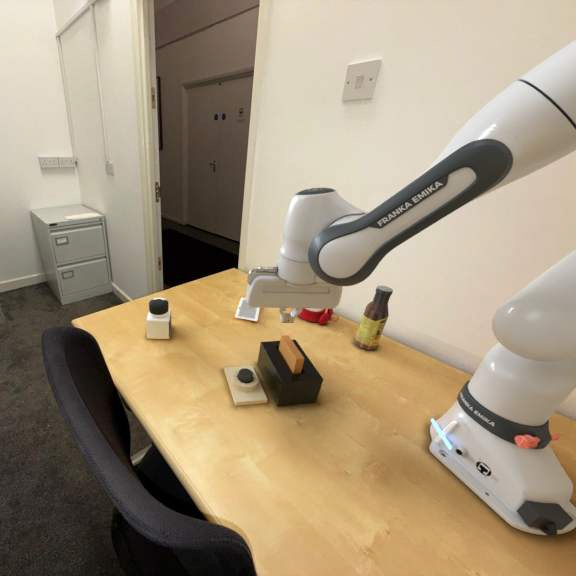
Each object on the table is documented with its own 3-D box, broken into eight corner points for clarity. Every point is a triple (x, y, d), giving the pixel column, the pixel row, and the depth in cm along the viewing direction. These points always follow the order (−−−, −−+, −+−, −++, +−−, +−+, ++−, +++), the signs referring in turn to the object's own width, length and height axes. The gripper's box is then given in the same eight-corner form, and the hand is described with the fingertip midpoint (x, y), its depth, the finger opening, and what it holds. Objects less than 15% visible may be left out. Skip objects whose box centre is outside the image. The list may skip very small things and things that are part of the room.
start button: (254, 382, 75) (255, 377, 74) (240, 384, 74) (241, 379, 74) (249, 372, 78) (250, 367, 77) (236, 373, 78) (237, 368, 77)
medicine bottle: (169, 339, 94) (169, 307, 88) (147, 339, 94) (145, 306, 88) (171, 326, 100) (171, 295, 95) (150, 325, 100) (148, 294, 95)
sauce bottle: (374, 353, 90) (396, 296, 81) (351, 345, 93) (370, 289, 84) (377, 343, 94) (399, 288, 85) (356, 335, 98) (374, 281, 89)
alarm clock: (300, 295, 114) (342, 300, 104) (300, 309, 116) (342, 316, 106) (289, 305, 107) (333, 312, 97) (289, 321, 109) (333, 329, 99)
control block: (267, 402, 73) (268, 394, 71) (235, 405, 72) (236, 397, 70) (251, 368, 83) (253, 360, 82) (224, 370, 82) (224, 362, 81)
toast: (296, 389, 74) (304, 358, 69) (289, 390, 74) (296, 359, 69) (282, 364, 82) (288, 335, 77) (275, 365, 82) (281, 335, 77)
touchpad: (260, 303, 115) (261, 298, 114) (256, 323, 103) (257, 318, 102) (240, 299, 117) (241, 294, 116) (234, 319, 105) (234, 314, 104)
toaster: (316, 403, 73) (323, 379, 69) (277, 407, 72) (282, 382, 68) (290, 361, 86) (295, 339, 82) (257, 364, 85) (260, 341, 81)
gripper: (252, 272, 60) (244, 328, 66) (352, 274, 60) (335, 330, 67) (246, 260, 65) (240, 313, 72) (338, 262, 66) (323, 314, 72)
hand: (286, 321), depth 69 cm, fingers closed
